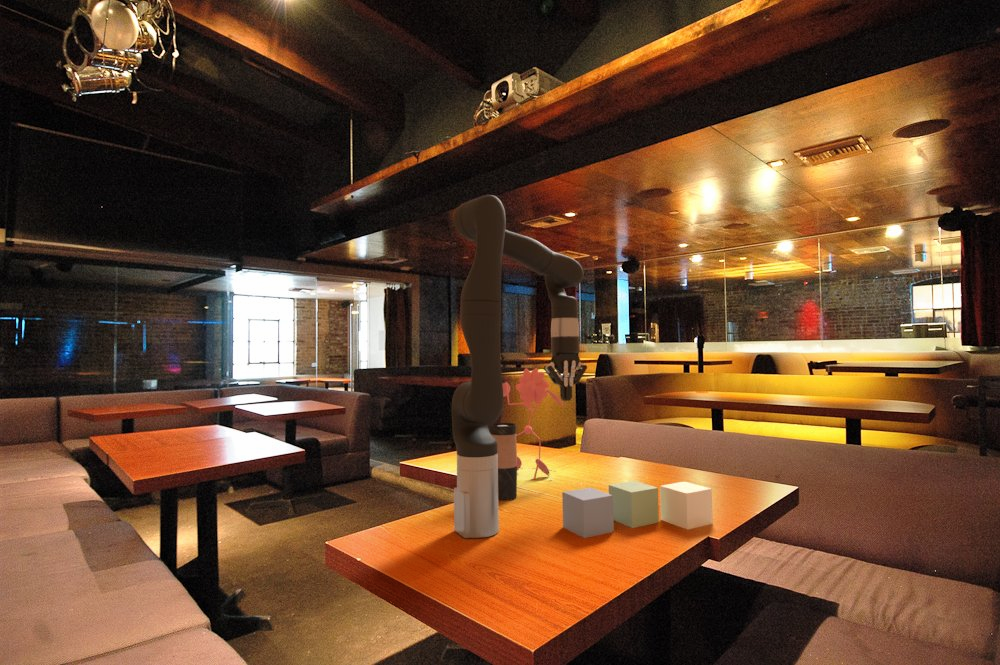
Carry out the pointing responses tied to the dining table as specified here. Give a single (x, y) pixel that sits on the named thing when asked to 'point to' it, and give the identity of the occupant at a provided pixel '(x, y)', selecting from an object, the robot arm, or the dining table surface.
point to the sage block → (634, 503)
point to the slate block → (588, 512)
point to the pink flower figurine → (531, 391)
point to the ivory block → (686, 505)
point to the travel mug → (506, 459)
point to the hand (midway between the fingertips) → (566, 400)
